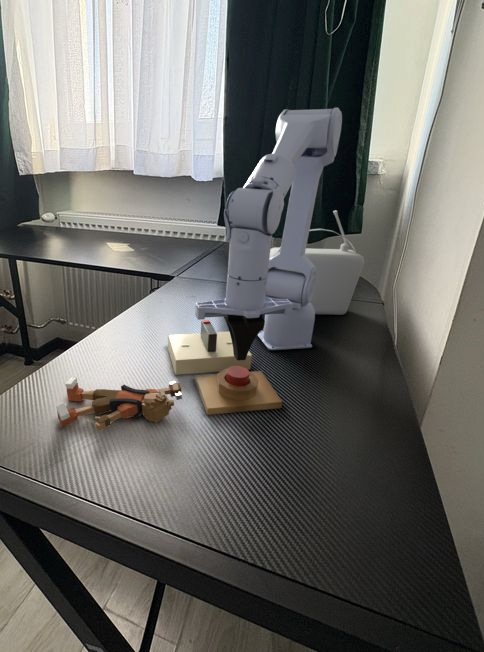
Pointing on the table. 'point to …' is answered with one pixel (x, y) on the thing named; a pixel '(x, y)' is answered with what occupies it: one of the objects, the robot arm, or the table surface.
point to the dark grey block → (208, 335)
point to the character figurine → (118, 403)
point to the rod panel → (203, 354)
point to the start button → (237, 376)
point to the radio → (332, 275)
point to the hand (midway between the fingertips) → (239, 357)
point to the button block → (236, 394)
